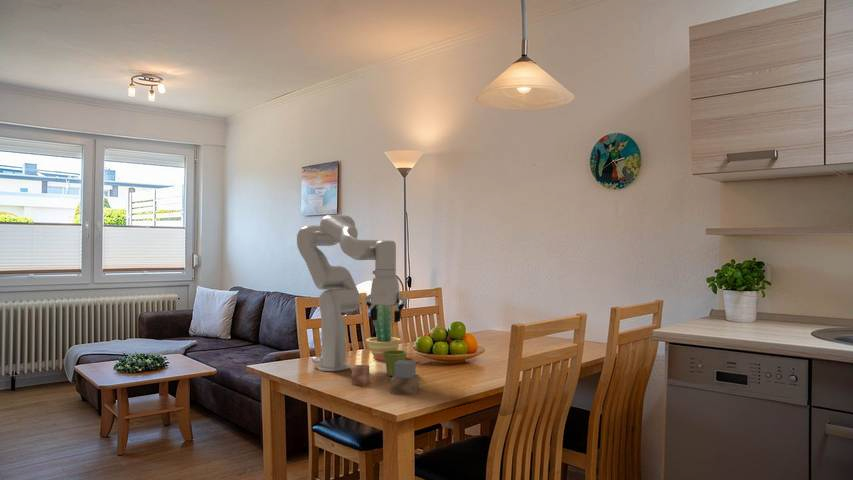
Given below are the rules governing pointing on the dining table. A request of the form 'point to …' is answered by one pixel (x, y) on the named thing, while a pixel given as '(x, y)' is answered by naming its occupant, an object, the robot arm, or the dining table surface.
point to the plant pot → (393, 359)
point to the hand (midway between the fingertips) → (385, 321)
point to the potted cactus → (382, 333)
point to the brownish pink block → (360, 375)
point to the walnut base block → (404, 385)
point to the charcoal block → (405, 369)
